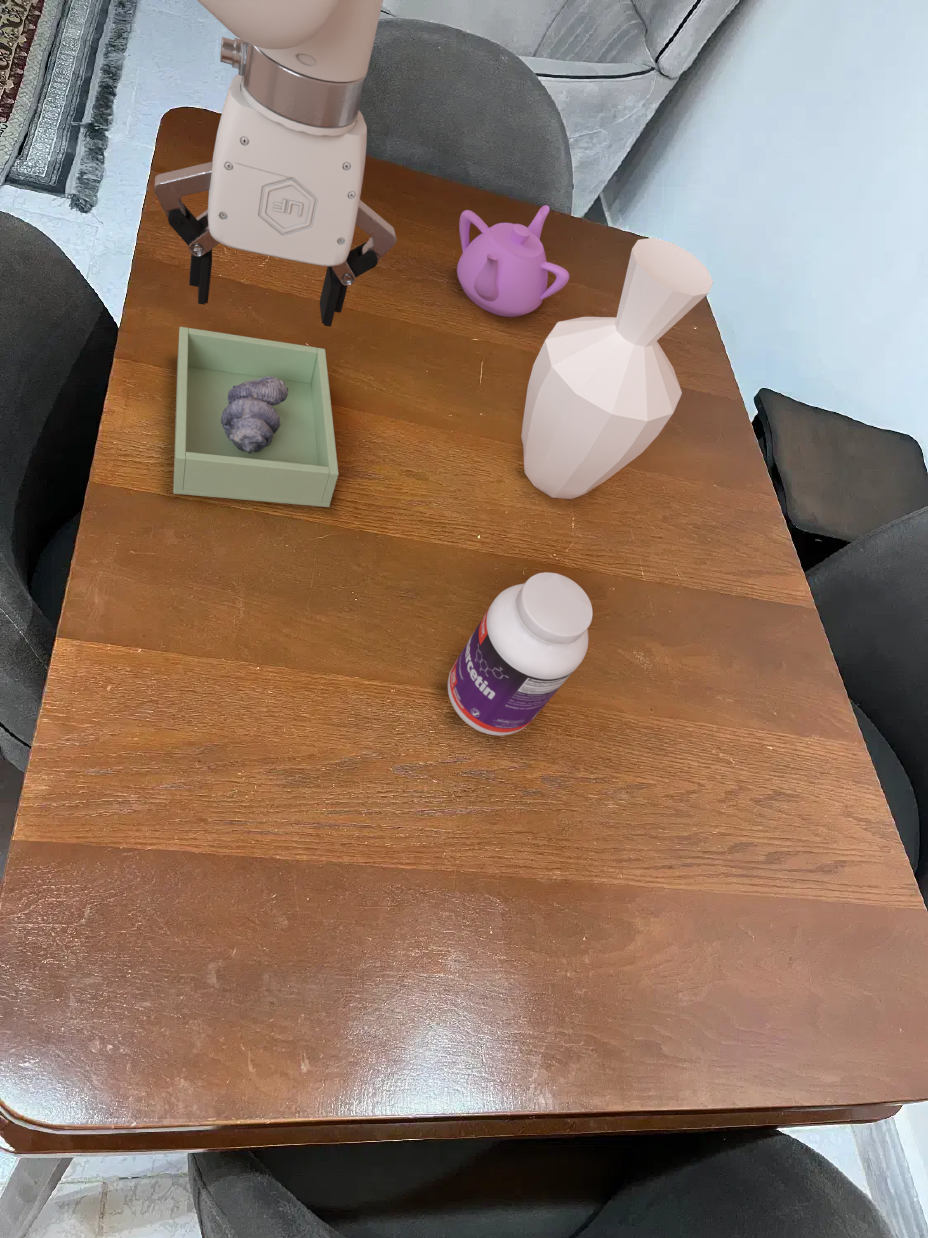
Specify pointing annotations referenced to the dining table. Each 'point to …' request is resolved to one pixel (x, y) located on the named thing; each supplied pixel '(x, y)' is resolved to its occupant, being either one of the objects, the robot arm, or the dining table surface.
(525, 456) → the vase
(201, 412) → the box
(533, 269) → the teapot
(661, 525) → the dining table surface
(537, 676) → the pill bottle
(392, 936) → the dining table surface
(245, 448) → the seashell
